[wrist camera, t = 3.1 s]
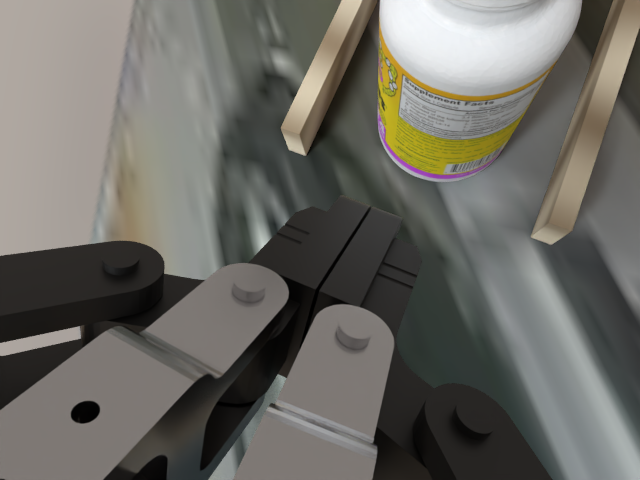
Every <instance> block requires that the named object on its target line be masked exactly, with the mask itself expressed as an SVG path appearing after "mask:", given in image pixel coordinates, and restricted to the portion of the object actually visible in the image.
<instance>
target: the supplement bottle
mask: <svg viewBox="0 0 640 480" xmlns="http://www.w3.org/2000/svg"><path fill="white" fill-rule="evenodd" d="M581 7H582V0H380V11H379V63H378V73H379V76H378V129H379V134H380V138H381V141H382V144H383V146H384V148H385V150H386V152H387V153H388V155H389V156H390V157H391V159H392V160H393V161H394V162H395V163H396V164H397V165H398V166H399V167H401V168H402V169H403V170H405V171H406V172H408V173H409V174H411V175H413V176H416V177H418V178H422V179H425V180H429V181H435V182H452V181H458V180H462V179H466V178H469V177H471V176H473V175H475V174H477V173H479V172H481V171H482V170H484V169H485V168H487V167H488V166H489V165H490V164H491V163H492V162H493V161H494V160H495V159H496V158H497V157H498V156H499V154H500V153H501V151H502V150H503V148H504V147H505V145H506V144H507V142H508V140H509V139H510V137H511V135H512V134H513V132H514V130H515V129H516V127H517V126H518V124H519V122H520V121H521V119H522V117H523V116H524V114H525V112H526V111H527V109H528V108H529V106H530V104H531V103H532V101H533V99H534V98H535V96H536V94H537V93H538V91H539V89H540V88H541V86H542V84H543V83H544V81H545V80H546V78H547V76H548V75H549V73H550V72H551V70H552V68H553V67H554V65H555V64H556V62H557V60H558V59H559V57H560V55H561V54H562V52H563V51H564V49H565V47H566V46H567V44H568V42H569V41H570V39H571V37H572V35H573V33H574V31H575V28H576V26H577V23H578V20H579V17H580V12H581Z"/></svg>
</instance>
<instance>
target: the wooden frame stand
mask: <svg viewBox="0 0 640 480" xmlns="http://www.w3.org/2000/svg"><path fill="white" fill-rule="evenodd" d="M377 2H378V0H342V2H341V4H340V6H339V8H338V10H337V12H336V14H335V16H334V18H333V20H332V22H331V24H330V26H329V29H328V31H327V33H326V35H325V37H324V39H323V41H322V43H321V45H320V47H319V49H318V51H317V53H316V56H315V58H314V60H313V62H312V64H311V66H310V68H309V70H308V72H307V74H306V76H305V78H304V80H303V83H302V85H301V87H300V89H299V91H298V93H297V95H296V97H295V99H294V101H293V103H292V105H291V107H290V110H289V112H288V114H287V116H286V118H285V120H284V122H283V124H282V126H281V130H282V133H283V135H284V138H285V140H286V143H287V146H288V148H289V150H291V151H294V152H296V153H299V154H302V155H305V156H306V155H307V153H308V151H309V149H310V146H311V144H312V142H313V140H314V138H315V136H316V133H317V131H318V129H319V127H320V125H321V123H322V121H323V118H324V116H325V114H326V112H327V110H328V108H329V105H330V103H331V101H332V99H333V97H334V95H335V92H336V90H337V88H338V86H339V84H340V82H341V80H342V77H343V75H344V73H345V71H346V69H347V67H348V64H349V62H350V60H351V58H352V56H353V54H354V52H355V49H356V47H357V45H358V43H359V41H360V39H361V36H362V34H363V32H364V30H365V28H366V26H367V23H368V21H369V19H370V17H371V15H372V13H373V11H374V8H375V6H376V4H377ZM639 28H640V0H613V2H612V5H611V8H610V11H609V14H608V16H607V19H606V22H605V25H604V28H603V31H602V34H601V37H600V39H599V42H598V45H597V48H596V51H595V54H594V57H593V60H592V62H591V65H590V68H589V71H588V74H587V77H586V80H585V82H584V85H583V88H582V91H581V94H580V97H579V100H578V103H577V105H576V108H575V111H574V114H573V117H572V120H571V123H570V126H569V128H568V131H567V134H566V137H565V140H564V143H563V146H562V148H561V151H560V154H559V157H558V160H557V163H556V166H555V169H554V171H553V174H552V177H551V180H550V183H549V186H548V189H547V192H546V194H545V197H544V200H543V203H542V206H541V209H540V212H539V214H538V217H537V220H536V223H535V226H534V229H533V232H532V235H531V238H534V239H536V240H539V241H542V242H545V243H547V244H550V245H552V244H553V243H555V242H556V241H558V240H559V239H561V238H562V237H564V236H565V235H567V234H568V233H570V232H571V231H572V230H573V227H574V224H575V221H576V218H577V215H578V212H579V209H580V206H581V203H582V200H583V197H584V194H585V191H586V188H587V185H588V182H589V179H590V176H591V173H592V170H593V167H594V164H595V161H596V158H597V155H598V152H599V149H600V146H601V142H602V139H603V136H604V133H605V130H606V127H607V124H608V121H609V118H610V115H611V112H612V109H613V106H614V103H615V100H616V97H617V94H618V91H619V88H620V85H621V82H622V79H623V76H624V73H625V70H626V67H627V64H628V61H629V58H630V55H631V52H632V49H633V46H634V43H635V40H636V37H637V34H638V31H639Z"/></svg>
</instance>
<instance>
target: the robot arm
mask: <svg viewBox="0 0 640 480" xmlns="http://www.w3.org/2000/svg"><path fill="white" fill-rule="evenodd" d="M402 220H403V218H402V217H399V216H396V215H394V214H391V213H388V212H386V211H383V210H380V209H378V208H375V207H373V208H372V209H371V206H369V205H367V204H364V203H361V202H359V201H356V200H354V199H351V198H348V197H346V196H343V195H341V196H340V197H339V198H338V199H337V200H336V202H335V203H334V204H333V205H332V207H331V208H330V209H329V210H328V211H327V212H326V211H323V210H321V209H318V208H316V207H313V206H312V207H310V208H307V209H304V210H301V211H299V212H296V213H295V214H294V215H293V216H292V217H291V218H290V219H289V220H288V221H287V222H286V224H285V226H283V227H282V228H281V229H280V230H279V231H278V232H277V234H276V235H274V236H273V237H272V238H271V239H270V241H269V242H268V243H267V244H266V245H265V246H264V247H263V248H262V249H261V250H260V251H259V252H258V253H257V254H256V255H255V256H254V258H253V259H252V260H251V261H250V262H249V263H237V264H231V265H228V266H225V267H223V268H220V269H219V270H217V271H216V272H215V273H213V274H212V275H211V276H210V277H209V278H207V279H206V280H198V279H191V278H185V277H179V276H174V275H168V274H164V261H163V258H162V257H161V255H160V254H159V253H158V252H157V251H156V250H154V249H153V248H151V247H149V246H147V245H144V244H141V243H137V242H132V241H111V242H103V243H96V244H88V245H80V246H73V247H65V248H58V249H51V250H43V251H34V252H27V253H19V254H11V255H4V256H0V343H2V342H7V341H11V340H16V339H21V338H26V337H30V336H35V335H40V334H45V333H49V332H54V331H59V330H63V329H68V328H73V327H78V326H80V331H81V339H78V340H73V341H69V342H64V343H60V344H56V345H51V346H47V347H42V348H37V349H33V350H29V351H24V352H20V353H15V354H11V355H6V356H0V480H208V479H209V477H210V476H211V475H212V473H213V472H214V470H215V469H216V468H217V466H218V465H219V463H220V462H221V461H222V459H223V458H224V457H225V455H226V454H227V452H228V451H229V450H230V448H231V447H232V446H233V444H234V443H235V441H236V440H237V439H238V437H239V436H240V434H241V433H242V432H243V430H244V429H245V428H246V426H247V425H248V423H249V422H250V421H251V419H252V418H253V416H254V415H255V414H256V412H257V411H258V410H259V408H260V407H261V405H262V403H263V401H264V397H265V393H266V392H267V390H268V389H269V387H270V386H271V384H272V383H273V381H274V379H275V378H276V376H277V374H279V375H282V376H284V377H286V378H287V379H286V381H285V383H284V386H283V388H282V390H281V392H280V394H279V396H278V398H277V400H276V402H275V404H272V403H271V404H270V405H269V407H268V408H267V410H266V412H265V414H264V416H263V418H262V420H261V422H260V424H259V426H258V428H257V430H256V432H255V434H254V437H253V439H252V441H251V443H250V445H249V447H248V449H247V451H246V453H245V455H244V458H243V460H242V462H241V464H240V466H239V468H238V470H237V472H236V474H235V476H234V479H233V480H552V478H551V477H550V476H549V474H548V473H547V471H546V470H545V468H544V467H543V465H542V464H541V462H540V461H539V459H538V458H537V456H536V455H535V454H534V452H533V451H532V449H531V448H530V446H529V445H528V443H527V442H526V440H525V439H524V437H523V436H522V434H521V433H520V431H519V430H518V429H517V427H516V426H515V424H514V423H513V421H512V420H511V418H510V417H509V415H508V414H507V413H506V412H505V410H504V409H503V408H502V407H501V406H500V405H499V404H498V403H497V402H496V401H494V400H493V399H492V398H491V397H489V396H488V395H486V394H485V393H483V392H481V391H479V390H477V389H475V388H473V387H470V386H466V385H463V384H455V383H452V384H444V385H441V386H438V387H436V388H435V389H434V388H433V387H432V386H430V385H429V384H428V383H426V382H425V381H424V380H422V379H421V378H420V377H418V376H417V375H416V374H415V373H414V372H413V371H412V370H411V369H410V368H409V367H408V366H407V365H406V363H405V362H404V361H403V359H402V357H401V356H400V353H399V351H398V348H397V343H396V337H397V332H398V329H399V326H400V324H401V321H402V318H403V315H404V312H405V309H406V306H407V303H408V301H409V298H410V295H411V292H412V289H413V286H414V283H415V280H416V277H417V275H418V272H419V269H420V266H421V263H422V260H421V257H420V254H419V251H418V248H417V246H414V245H412V244H409V243H407V242H404V241H401V240H399V239H396V237H397V234H398V232H399V229H400V226H401V223H402Z"/></svg>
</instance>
